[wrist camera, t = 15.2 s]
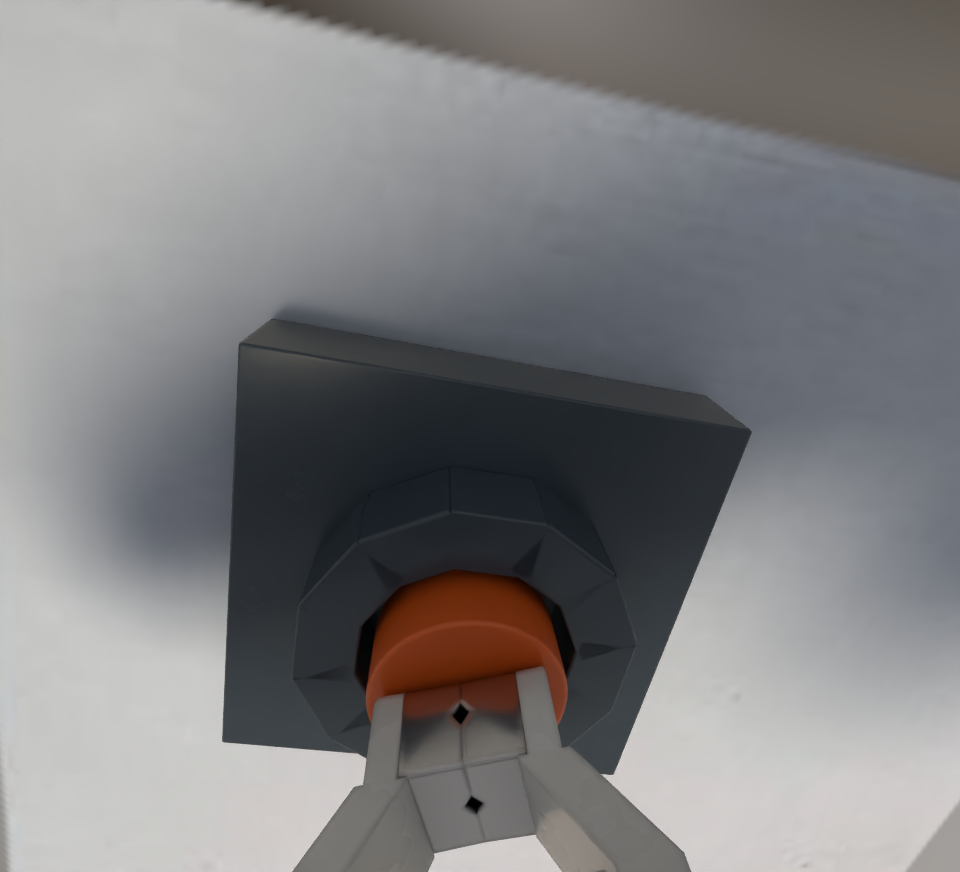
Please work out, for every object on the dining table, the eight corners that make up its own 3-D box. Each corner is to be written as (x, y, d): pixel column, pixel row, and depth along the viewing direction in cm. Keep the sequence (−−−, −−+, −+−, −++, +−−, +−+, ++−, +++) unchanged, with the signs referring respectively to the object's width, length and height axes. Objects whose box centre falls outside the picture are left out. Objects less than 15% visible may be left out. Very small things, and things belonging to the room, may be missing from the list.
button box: (707, 395, 14) (805, 470, 10) (594, 707, 17) (634, 846, 14) (271, 317, 12) (199, 371, 9) (248, 673, 16) (191, 816, 12)
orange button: (571, 573, 11) (592, 635, 10) (529, 707, 13) (542, 782, 11) (388, 549, 11) (378, 611, 9) (365, 691, 12) (353, 767, 11)
